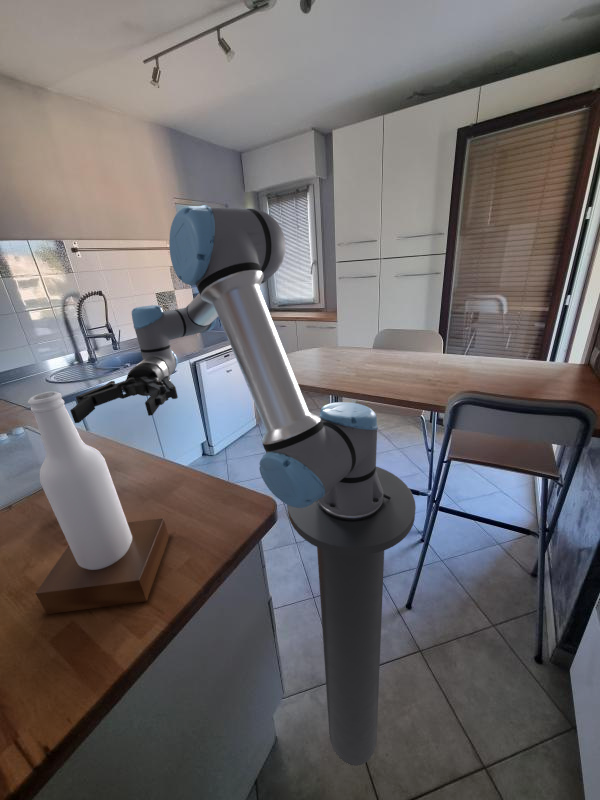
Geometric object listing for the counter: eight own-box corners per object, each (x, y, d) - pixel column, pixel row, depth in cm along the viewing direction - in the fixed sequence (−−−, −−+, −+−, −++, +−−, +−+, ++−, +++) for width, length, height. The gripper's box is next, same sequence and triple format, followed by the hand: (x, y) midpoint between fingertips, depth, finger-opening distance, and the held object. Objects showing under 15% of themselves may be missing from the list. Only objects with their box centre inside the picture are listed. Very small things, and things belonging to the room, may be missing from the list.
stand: (169, 536, 68) (163, 517, 66) (146, 601, 55) (139, 580, 53) (88, 546, 67) (80, 527, 65) (46, 614, 54) (35, 593, 52)
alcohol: (91, 581, 54) (16, 414, 42) (69, 556, 59) (-3, 400, 47) (142, 545, 60) (90, 390, 48) (119, 525, 65) (66, 381, 53)
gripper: (202, 385, 84) (183, 423, 65) (101, 395, 83) (50, 437, 63) (196, 357, 81) (174, 387, 62) (91, 367, 80) (35, 401, 61)
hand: (111, 412), depth 63 cm, fingers open, 13 cm apart
